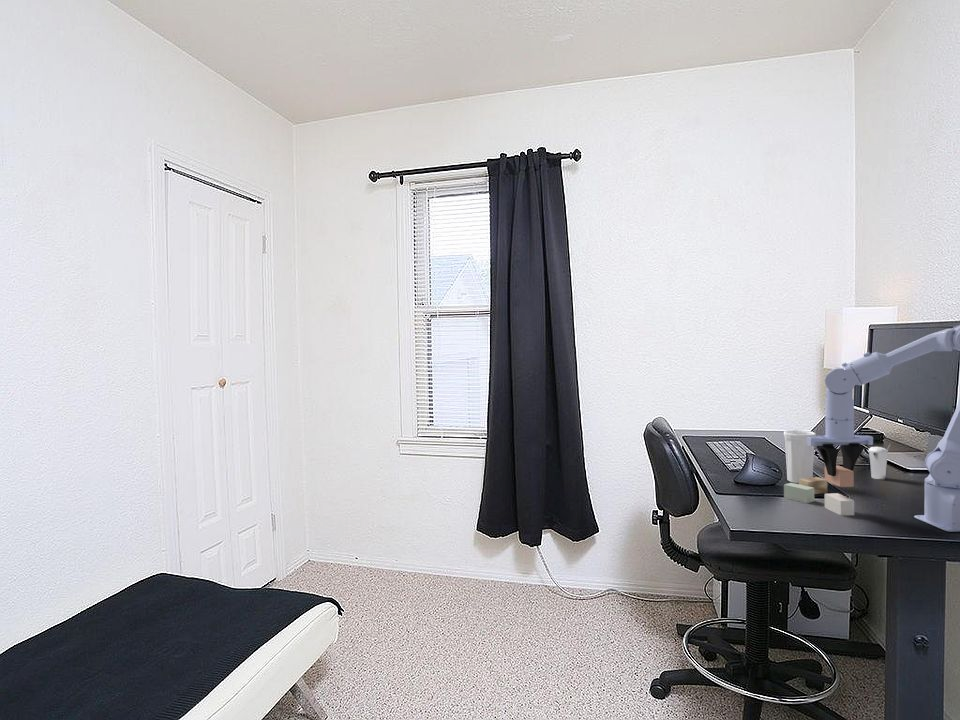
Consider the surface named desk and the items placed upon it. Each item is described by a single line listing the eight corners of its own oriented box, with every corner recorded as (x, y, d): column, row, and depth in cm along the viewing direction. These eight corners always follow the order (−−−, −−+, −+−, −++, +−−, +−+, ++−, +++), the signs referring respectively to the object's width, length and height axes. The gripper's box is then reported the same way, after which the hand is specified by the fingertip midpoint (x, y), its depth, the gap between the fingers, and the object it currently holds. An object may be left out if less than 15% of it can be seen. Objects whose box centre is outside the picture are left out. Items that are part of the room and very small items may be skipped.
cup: (786, 485, 157) (786, 434, 156) (781, 477, 164) (780, 429, 164) (819, 486, 154) (819, 435, 154) (812, 479, 162) (812, 430, 161)
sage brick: (814, 501, 142) (814, 487, 142) (807, 503, 140) (807, 489, 140) (791, 496, 147) (791, 482, 147) (784, 498, 145) (783, 484, 145)
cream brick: (854, 515, 130) (854, 500, 130) (840, 516, 130) (840, 500, 130) (837, 507, 136) (837, 493, 136) (824, 508, 136) (824, 493, 136)
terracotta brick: (853, 486, 131) (853, 471, 131) (839, 486, 131) (839, 471, 131) (837, 479, 137) (837, 465, 137) (824, 480, 137) (824, 465, 137)
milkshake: (894, 480, 158) (894, 445, 158) (873, 480, 159) (873, 445, 159) (886, 476, 163) (886, 442, 162) (865, 475, 164) (865, 442, 163)
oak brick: (817, 490, 152) (817, 477, 151) (827, 493, 148) (827, 479, 148) (798, 492, 150) (798, 478, 150) (808, 495, 147) (808, 481, 147)
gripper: (859, 415, 137) (859, 470, 137) (799, 416, 137) (799, 471, 138) (879, 419, 130) (879, 477, 130) (816, 421, 130) (816, 478, 131)
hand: (839, 475), depth 133 cm, fingers closed on terracotta brick, 3 cm apart
